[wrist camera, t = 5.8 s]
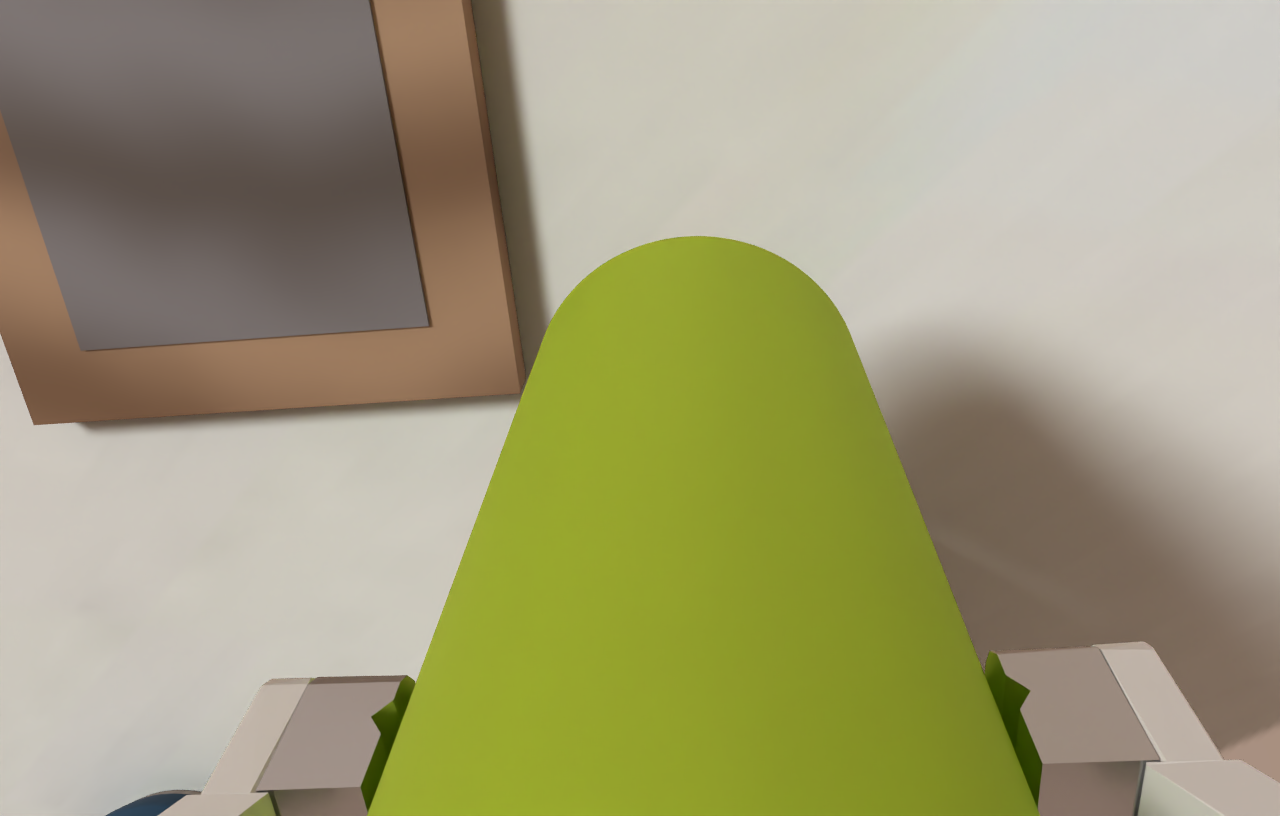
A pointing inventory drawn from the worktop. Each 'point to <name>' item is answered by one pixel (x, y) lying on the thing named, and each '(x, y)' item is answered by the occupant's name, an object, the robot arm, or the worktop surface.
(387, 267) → the board
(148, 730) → the worktop surface
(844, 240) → the worktop surface
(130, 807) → the soda can
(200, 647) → the worktop surface
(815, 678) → the soap dispenser
